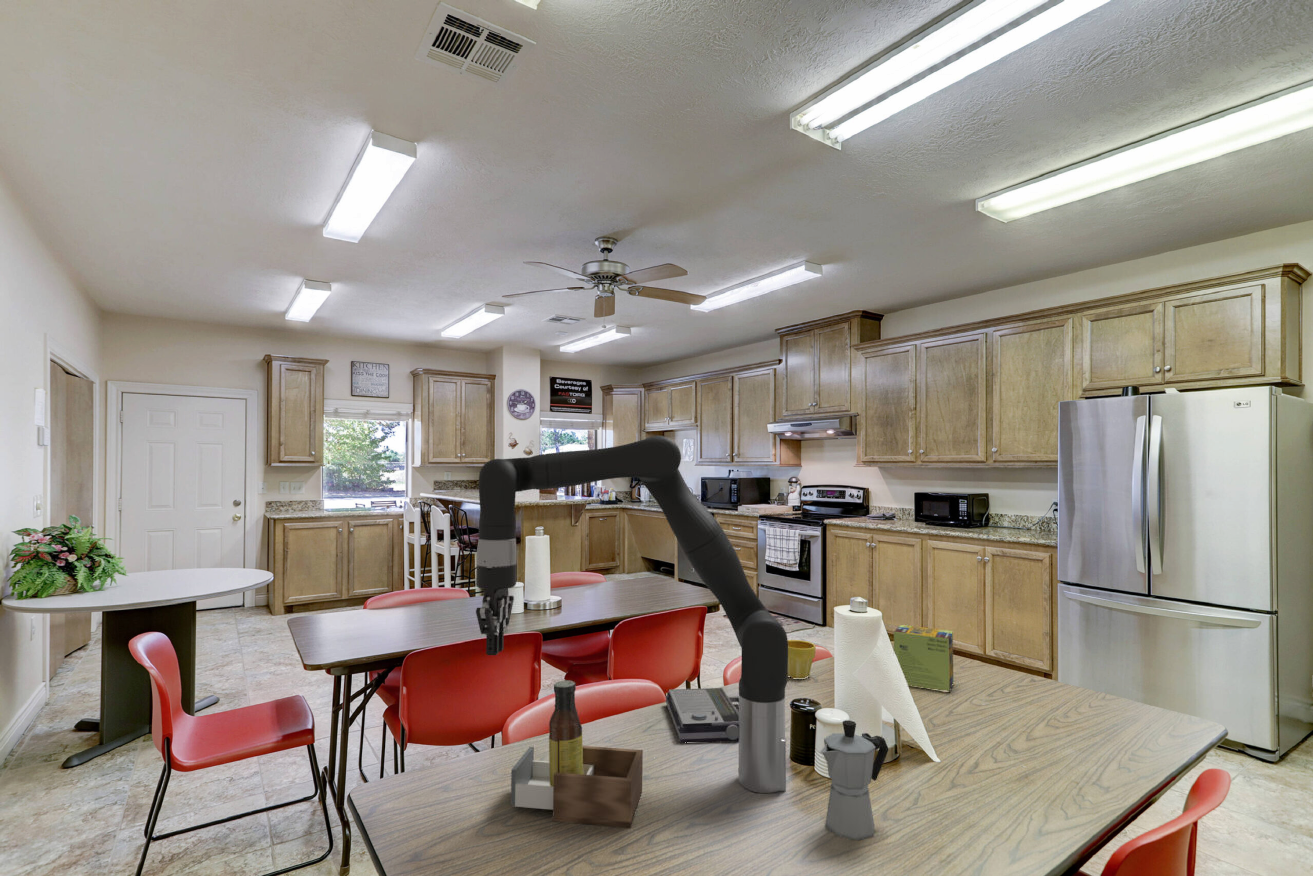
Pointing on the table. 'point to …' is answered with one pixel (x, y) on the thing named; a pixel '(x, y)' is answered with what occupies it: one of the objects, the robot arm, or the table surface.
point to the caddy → (601, 789)
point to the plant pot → (800, 658)
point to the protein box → (925, 656)
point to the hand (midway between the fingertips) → (494, 652)
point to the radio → (703, 714)
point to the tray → (534, 782)
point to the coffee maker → (852, 780)
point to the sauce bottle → (565, 733)
